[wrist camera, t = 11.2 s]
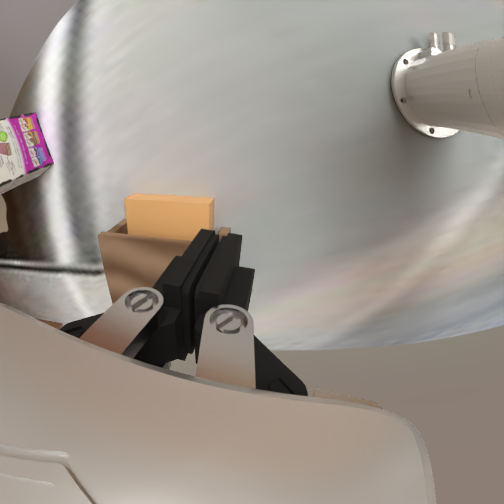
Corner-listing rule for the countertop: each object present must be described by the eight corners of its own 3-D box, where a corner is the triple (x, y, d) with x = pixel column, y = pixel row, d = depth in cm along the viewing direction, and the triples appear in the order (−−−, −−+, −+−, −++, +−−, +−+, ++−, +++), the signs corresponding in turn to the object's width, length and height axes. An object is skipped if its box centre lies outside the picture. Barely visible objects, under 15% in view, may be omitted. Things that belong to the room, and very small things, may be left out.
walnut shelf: (119, 218, 37) (97, 235, 32) (236, 228, 37) (228, 249, 31) (129, 282, 43) (112, 303, 37) (233, 297, 42) (226, 324, 36)
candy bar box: (23, 127, 31) (-46, 147, 16) (36, 111, 30) (-38, 127, 15) (41, 177, 35) (-28, 211, 21) (55, 164, 34) (-20, 195, 19)
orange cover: (133, 193, 35) (124, 198, 33) (214, 198, 35) (209, 204, 33) (142, 276, 42) (136, 285, 40) (213, 287, 41) (209, 297, 39)
